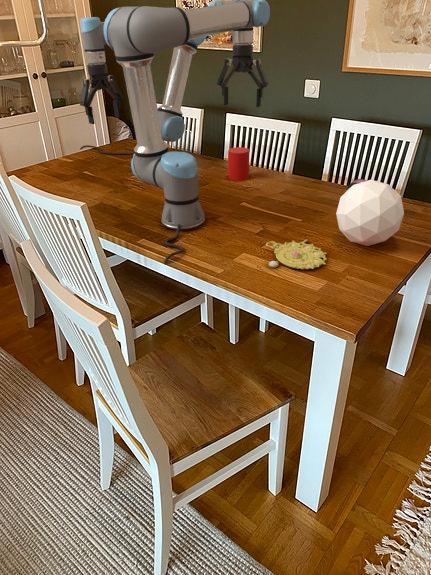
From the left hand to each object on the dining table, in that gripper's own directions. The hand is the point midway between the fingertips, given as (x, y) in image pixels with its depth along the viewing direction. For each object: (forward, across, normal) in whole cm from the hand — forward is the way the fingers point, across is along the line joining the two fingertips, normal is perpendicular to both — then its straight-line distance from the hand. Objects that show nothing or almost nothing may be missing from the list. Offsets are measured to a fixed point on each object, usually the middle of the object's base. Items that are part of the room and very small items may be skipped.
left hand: (105, 120), depth 184 cm
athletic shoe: (+25, +33, -102) cm, 110 cm away
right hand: (-6, +30, -48) cm, 57 cm away
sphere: (+25, +7, -114) cm, 117 cm away
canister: (+25, +34, -44) cm, 61 cm away
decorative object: (+25, -14, -101) cm, 105 cm away
